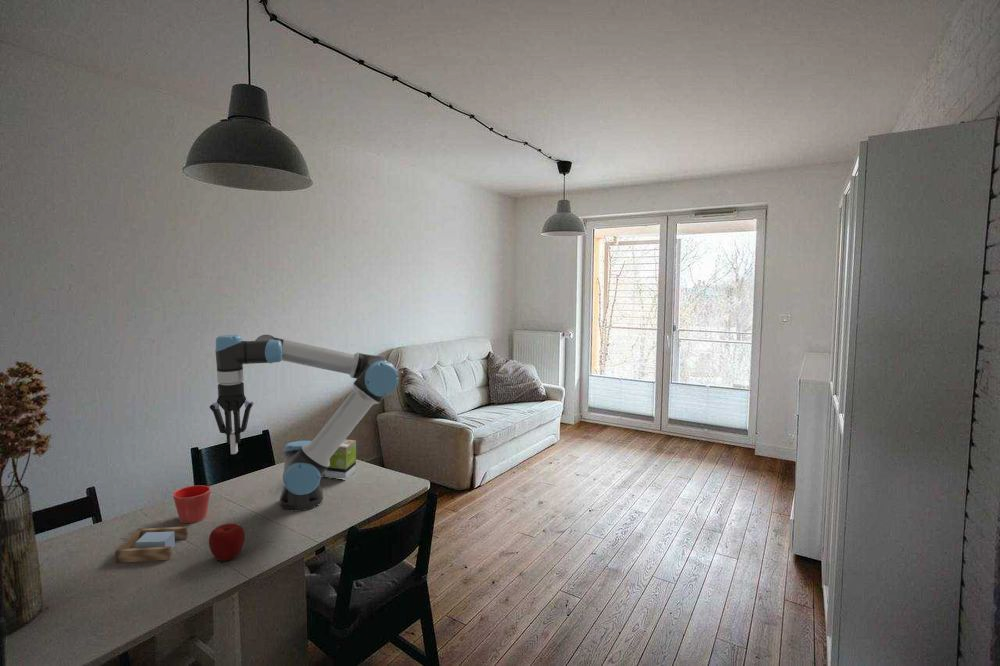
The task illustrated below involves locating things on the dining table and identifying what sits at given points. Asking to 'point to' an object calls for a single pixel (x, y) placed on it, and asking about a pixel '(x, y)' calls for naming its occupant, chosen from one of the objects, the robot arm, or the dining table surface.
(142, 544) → the block
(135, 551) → the bay
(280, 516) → the dining table surface
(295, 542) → the dining table surface
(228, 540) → the apple
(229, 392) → the robot arm
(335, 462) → the tea box
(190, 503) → the flower pot
